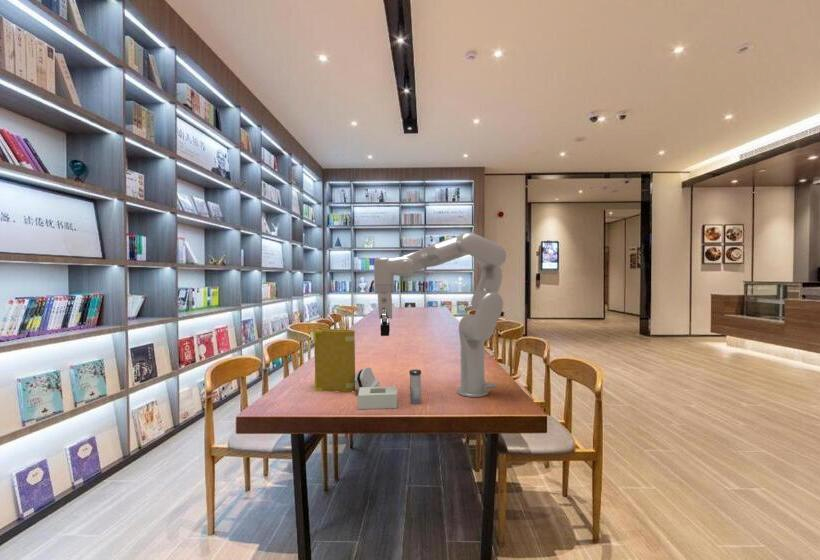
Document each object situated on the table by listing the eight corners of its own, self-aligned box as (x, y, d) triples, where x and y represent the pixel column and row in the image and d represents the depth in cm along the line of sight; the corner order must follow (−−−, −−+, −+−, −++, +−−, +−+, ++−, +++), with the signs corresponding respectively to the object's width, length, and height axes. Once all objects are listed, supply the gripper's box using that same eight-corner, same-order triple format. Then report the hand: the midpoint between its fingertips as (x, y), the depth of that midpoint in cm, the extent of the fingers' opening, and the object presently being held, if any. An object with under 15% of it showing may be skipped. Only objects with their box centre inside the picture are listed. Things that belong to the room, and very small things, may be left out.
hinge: (371, 396, 150) (362, 372, 150) (360, 400, 150) (352, 376, 151) (380, 384, 166) (372, 363, 167) (370, 387, 167) (362, 366, 167)
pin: (420, 400, 144) (420, 369, 144) (421, 404, 140) (421, 372, 140) (409, 401, 144) (409, 369, 144) (410, 405, 140) (409, 372, 139)
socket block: (396, 399, 146) (396, 386, 146) (397, 408, 136) (397, 394, 136) (360, 400, 146) (360, 387, 146) (358, 409, 136) (358, 395, 136)
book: (314, 390, 159) (313, 330, 159) (323, 385, 166) (322, 328, 165) (350, 393, 154) (349, 332, 154) (358, 388, 160) (357, 329, 160)
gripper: (394, 290, 137) (395, 337, 138) (394, 288, 155) (395, 330, 155) (373, 290, 137) (374, 337, 137) (375, 288, 154) (376, 330, 155)
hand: (385, 333), depth 146 cm, fingers open, 9 cm apart
